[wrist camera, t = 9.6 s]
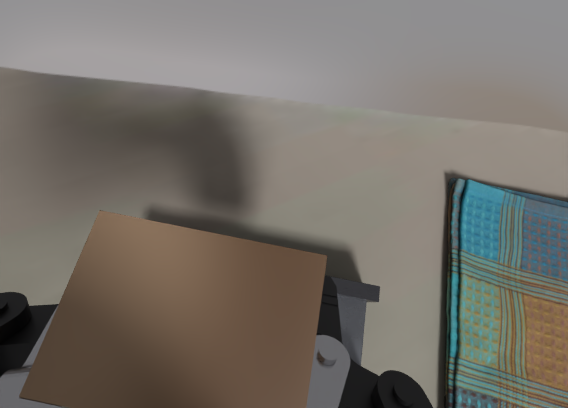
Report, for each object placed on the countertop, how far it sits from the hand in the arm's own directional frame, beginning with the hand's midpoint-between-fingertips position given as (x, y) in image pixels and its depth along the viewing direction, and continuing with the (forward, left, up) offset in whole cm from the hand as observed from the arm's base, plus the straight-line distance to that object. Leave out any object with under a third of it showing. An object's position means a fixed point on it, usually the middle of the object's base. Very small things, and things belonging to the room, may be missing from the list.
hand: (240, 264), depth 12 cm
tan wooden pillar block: (0, -2, -5) cm, 5 cm away
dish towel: (+26, +3, -16) cm, 31 cm away
